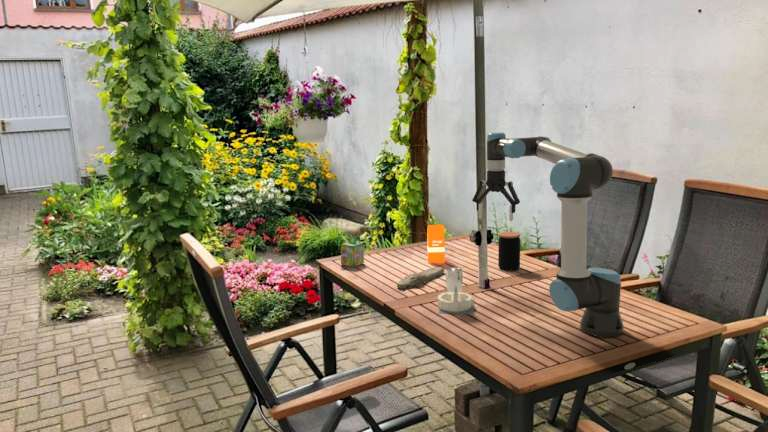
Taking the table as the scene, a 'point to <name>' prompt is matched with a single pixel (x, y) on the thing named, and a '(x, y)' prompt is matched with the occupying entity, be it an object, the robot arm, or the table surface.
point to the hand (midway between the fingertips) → (495, 219)
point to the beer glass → (454, 283)
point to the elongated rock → (419, 278)
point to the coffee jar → (509, 251)
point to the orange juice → (436, 244)
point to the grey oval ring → (470, 311)
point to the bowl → (454, 303)
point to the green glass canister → (352, 253)
